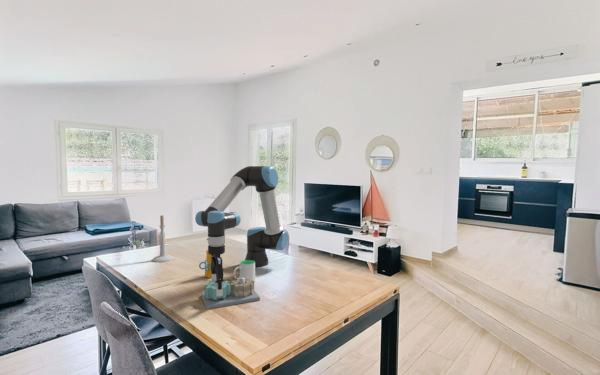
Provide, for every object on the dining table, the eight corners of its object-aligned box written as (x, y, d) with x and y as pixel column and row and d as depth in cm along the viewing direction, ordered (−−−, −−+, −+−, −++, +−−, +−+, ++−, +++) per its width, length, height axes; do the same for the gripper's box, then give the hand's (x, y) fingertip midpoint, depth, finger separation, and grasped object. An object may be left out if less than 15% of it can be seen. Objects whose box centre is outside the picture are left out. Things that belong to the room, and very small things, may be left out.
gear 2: (244, 286, 167) (244, 277, 166) (258, 292, 159) (258, 282, 159) (226, 292, 159) (226, 282, 158) (240, 299, 151) (240, 288, 151)
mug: (237, 286, 171) (237, 266, 171) (230, 282, 178) (230, 263, 177) (258, 281, 179) (257, 262, 178) (250, 277, 185) (250, 259, 184)
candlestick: (177, 258, 223) (176, 214, 222) (160, 263, 213) (159, 216, 211) (165, 256, 230) (164, 213, 228) (148, 260, 219) (147, 215, 218)
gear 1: (226, 288, 161) (226, 278, 161) (232, 297, 151) (232, 286, 151) (203, 292, 157) (203, 282, 156) (207, 301, 147) (207, 290, 146)
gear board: (249, 288, 169) (249, 271, 169) (259, 300, 154) (259, 282, 153) (201, 295, 159) (200, 278, 159) (206, 309, 144) (206, 290, 143)
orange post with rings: (214, 280, 180) (213, 253, 180) (196, 279, 182) (196, 252, 182) (223, 273, 192) (223, 248, 191) (207, 272, 194) (206, 247, 194)
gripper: (204, 240, 161) (204, 284, 163) (212, 251, 140) (213, 302, 142) (219, 239, 165) (220, 282, 166) (230, 249, 143) (230, 299, 145)
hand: (217, 291), depth 154 cm, fingers closed on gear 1, 11 cm apart
